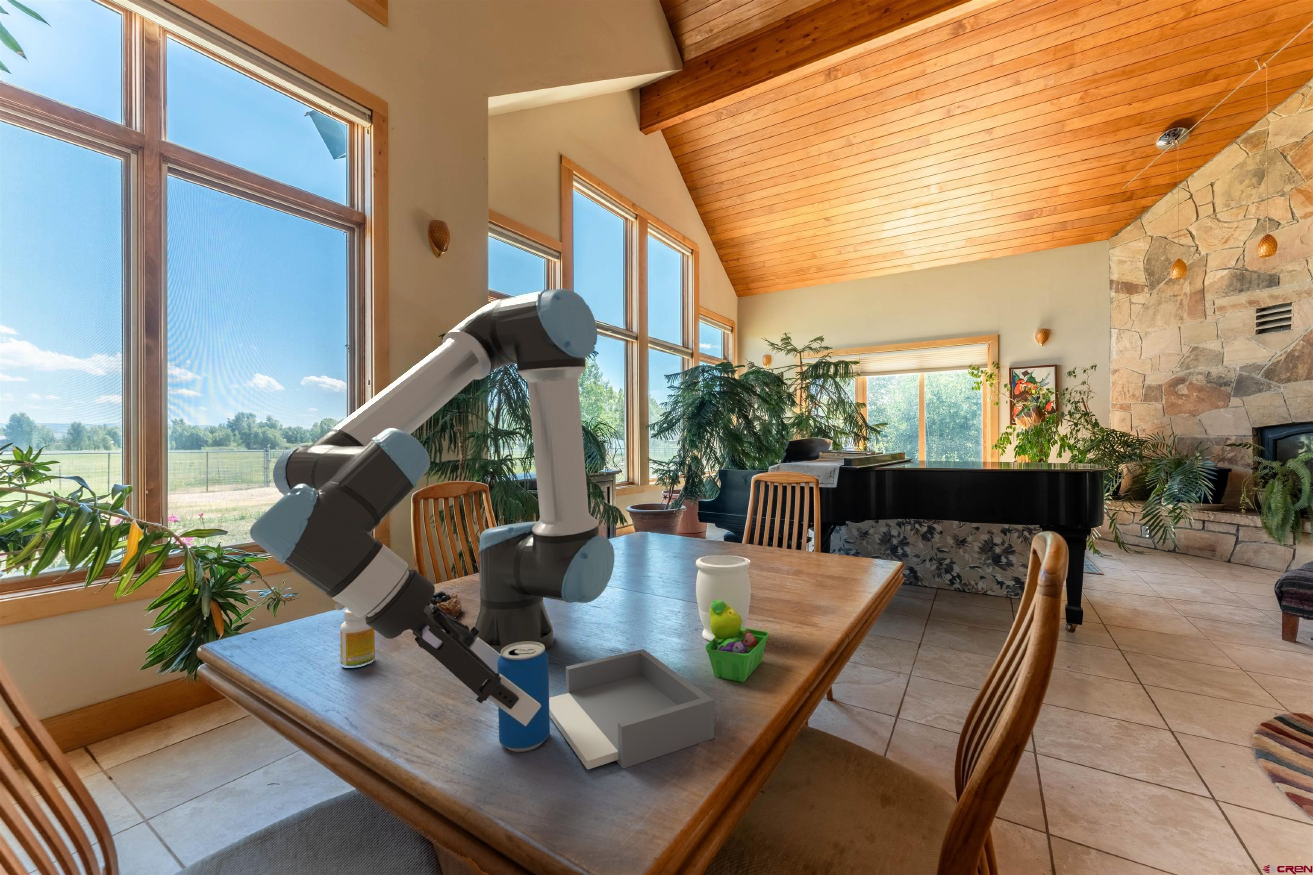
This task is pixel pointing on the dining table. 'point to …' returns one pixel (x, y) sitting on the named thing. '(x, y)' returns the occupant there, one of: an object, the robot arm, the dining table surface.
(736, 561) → the jar
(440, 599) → the pastry
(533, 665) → the beverage can
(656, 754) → the tray
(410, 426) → the robot arm
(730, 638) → the fruit basket
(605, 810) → the dining table surface
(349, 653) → the supplement bottle
